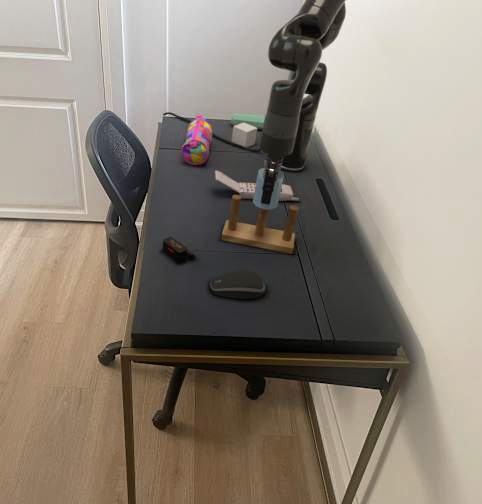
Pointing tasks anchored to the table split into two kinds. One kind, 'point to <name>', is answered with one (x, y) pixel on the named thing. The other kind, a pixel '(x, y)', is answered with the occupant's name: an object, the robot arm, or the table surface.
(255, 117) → the teal long bar
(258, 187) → the cup
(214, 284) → the computer mouse
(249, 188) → the mobile phone
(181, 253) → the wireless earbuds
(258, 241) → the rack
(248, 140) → the white cube
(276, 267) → the table surface
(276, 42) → the robot arm
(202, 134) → the pencil case
